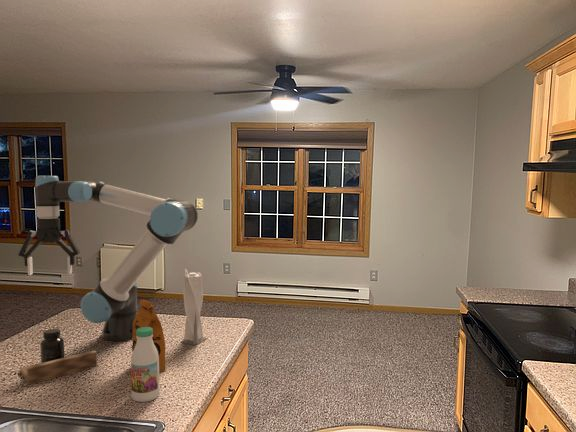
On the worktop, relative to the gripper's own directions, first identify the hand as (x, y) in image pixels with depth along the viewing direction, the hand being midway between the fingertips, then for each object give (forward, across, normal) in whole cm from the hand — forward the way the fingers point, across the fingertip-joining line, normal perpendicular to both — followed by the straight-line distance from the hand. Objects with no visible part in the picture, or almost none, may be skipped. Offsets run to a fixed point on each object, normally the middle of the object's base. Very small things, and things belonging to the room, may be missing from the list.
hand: (50, 274), depth 165 cm
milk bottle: (+27, -39, +48) cm, 67 cm away
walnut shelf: (+27, -9, +24) cm, 37 cm away
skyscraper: (+27, -52, +5) cm, 59 cm away
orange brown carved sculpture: (+27, -38, +28) cm, 54 cm away
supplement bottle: (+26, -7, +25) cm, 36 cm away
